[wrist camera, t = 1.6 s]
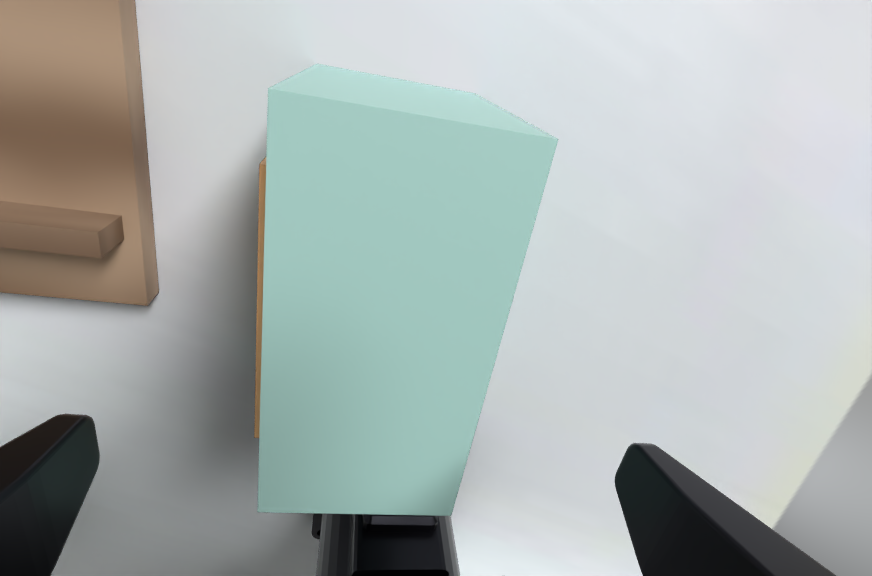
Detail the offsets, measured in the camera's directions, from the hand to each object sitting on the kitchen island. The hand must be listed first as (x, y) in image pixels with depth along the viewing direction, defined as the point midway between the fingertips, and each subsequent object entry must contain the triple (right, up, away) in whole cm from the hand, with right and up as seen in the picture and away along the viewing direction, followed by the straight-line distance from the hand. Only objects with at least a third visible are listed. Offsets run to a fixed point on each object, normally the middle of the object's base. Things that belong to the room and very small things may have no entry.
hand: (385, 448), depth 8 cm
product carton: (-1, +5, +9) cm, 11 cm away
